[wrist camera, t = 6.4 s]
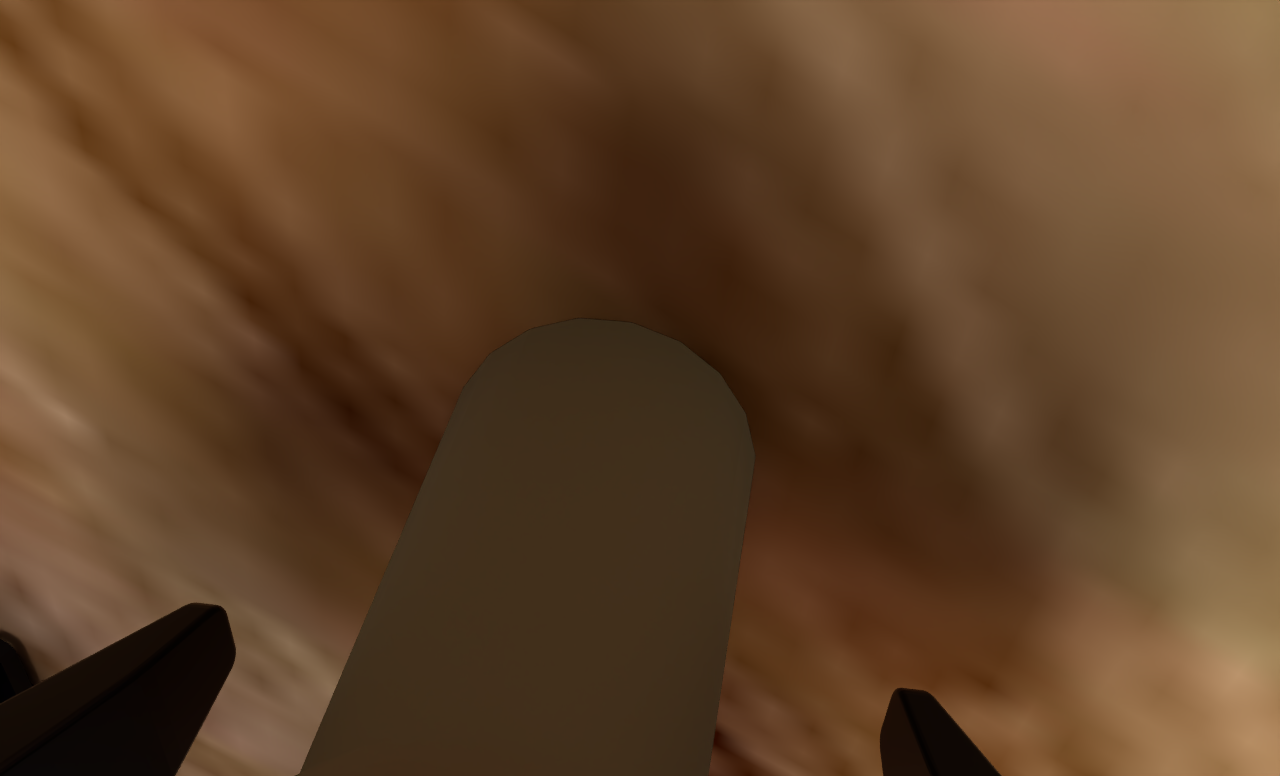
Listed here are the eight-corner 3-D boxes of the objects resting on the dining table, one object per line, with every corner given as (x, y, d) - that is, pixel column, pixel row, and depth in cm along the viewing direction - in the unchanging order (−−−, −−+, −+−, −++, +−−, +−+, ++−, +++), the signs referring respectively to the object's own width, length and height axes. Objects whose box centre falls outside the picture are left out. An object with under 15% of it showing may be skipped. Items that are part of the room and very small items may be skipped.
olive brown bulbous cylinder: (439, 545, 15) (-88, 1485, 5) (465, 283, 12) (-520, 1190, 2) (711, 609, 15) (704, 1664, 5) (796, 361, 12) (1118, 1563, 3)
